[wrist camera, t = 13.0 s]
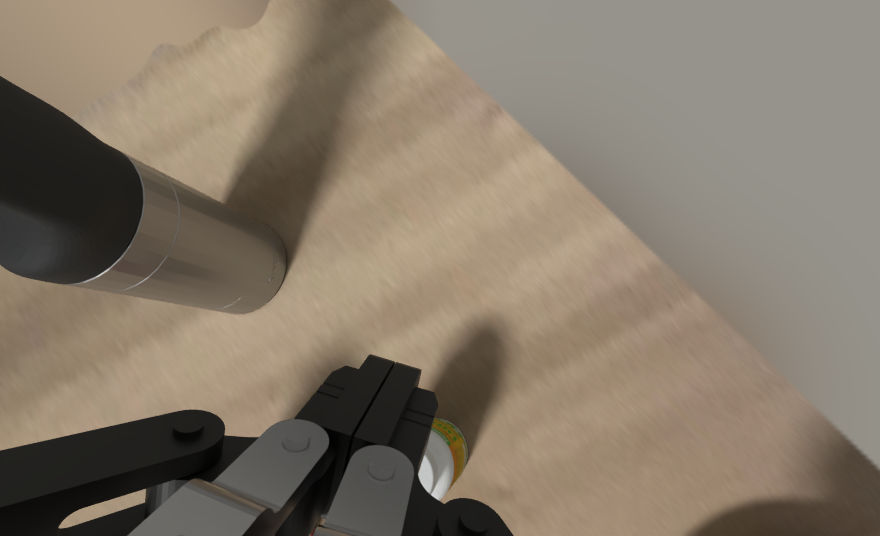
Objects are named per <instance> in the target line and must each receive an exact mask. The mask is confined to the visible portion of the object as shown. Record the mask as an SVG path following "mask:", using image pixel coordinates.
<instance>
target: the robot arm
mask: <svg viewBox="0 0 880 536" xmlns="http://www.w3.org/2000/svg"><path fill="white" fill-rule="evenodd" d="M0 265H1V266H2V267H4V268H5V269H7V270H8V271H10V272H12V273H14V274H17V275H19V276H22V277H26V278H30V279H35V280H40V281H45V282H51V283H57V284H63V285H69V286H75V287H80V288H86V289H92V290H98V291H105V292H111V293H116V294H122V295H128V296H134V297H139V298H145V299H151V300H157V301H163V302H168V303H174V304H180V305H186V306H191V307H197V308H202V309H208V310H213V311H219V312H225V313H231V314H245V313H249V312H253V311H255V310H257V309H259V308H261V307H262V306H263V305H265V304H266V303H267V302H269V301H270V299H271V298H272V297H273V296H274V295H275V294H276V292H277V291H278V289H279V287H280V286H281V283H282V281H283V278H284V275H285V269H286V254H285V249H284V246H283V244H282V242H281V240H280V238H279V237H278V235H277V234H276V233H275V232H274V231H273V230H272V229H270V228H269V227H268V226H266V225H264V224H262V223H260V222H258V221H256V220H254V219H252V218H250V217H248V216H246V215H245V214H243V213H241V212H239V211H237V210H235V209H233V208H231V207H229V206H227V205H225V204H223V203H221V202H219V201H217V200H215V199H213V198H211V197H209V196H207V195H206V194H204V193H202V192H200V191H198V190H196V189H194V188H192V187H190V186H188V185H186V184H184V183H182V182H180V181H178V180H176V179H174V178H172V177H170V176H168V175H166V174H164V173H162V172H160V171H158V170H156V169H154V168H152V167H150V166H148V165H146V164H144V163H142V162H140V161H138V160H136V159H134V158H132V157H130V156H128V155H126V154H125V153H123V152H121V151H119V150H117V149H115V148H113V147H111V146H109V145H107V144H105V143H103V142H102V141H100V140H99V139H98V138H96V137H95V136H94V135H92V134H91V133H90V132H89V131H87V130H86V129H85V128H83V127H82V126H81V125H79V124H78V123H77V122H75V121H74V120H73V119H71V118H70V117H68V116H67V115H65V114H64V113H63V112H61V111H59V110H58V109H56V108H54V107H53V106H51V105H49V104H48V103H46V102H44V101H43V100H41V99H39V98H37V97H36V96H34V95H32V94H30V93H28V92H26V91H25V90H23V89H21V88H20V87H18V86H16V85H14V84H12V83H11V82H9V81H8V80H6V79H4V78H3V77H1V76H0ZM420 376H421V369H418V368H414V367H411V366H408V365H404V364H401V363H398V362H396V364H395V362H394V361H391V360H388V359H384V358H381V357H378V356H374V355H371V354H370V355H369V356H368V357H367V359H366V360H365V361H364V363H363V364H362V366H361V367H360V368H359V369H356V368H353V367H349V366H344V367H342V368H340V369H338V370H336V371H334V372H332V373H331V374H330V375H329V377H328V378H327V379H326V380H325V382H324V384H322V385H321V386H320V388H319V389H318V390H317V392H316V393H315V394H314V395H313V396H312V397H311V399H310V400H309V401H308V402H307V404H306V405H305V406H304V407H303V408H302V410H301V411H300V412H299V413H298V415H297V416H296V417H295V418H294V419H291V420H284V421H281V422H278V423H276V424H274V425H272V426H271V427H270V428H268V429H267V430H266V431H265V432H264V433H263V434H262V435H261V436H260V437H237V436H225V435H224V433H225V425H224V423H223V421H222V420H221V419H220V418H219V417H218V416H217V415H215V414H213V413H210V412H207V411H203V410H183V411H177V412H173V413H168V414H164V415H159V416H155V417H150V418H146V419H141V420H137V421H132V422H128V423H123V424H119V425H114V426H110V427H105V428H101V429H96V430H91V431H87V432H82V433H78V434H73V435H69V436H64V437H60V438H55V439H51V440H46V441H42V442H37V443H33V444H28V445H24V446H19V447H15V448H10V449H6V450H1V451H0V536H311V533H312V531H313V530H314V528H315V526H316V524H317V523H318V521H319V519H320V517H322V518H325V522H324V524H323V526H322V525H318V527H317V528H316V530H315V532H314V535H313V536H513V534H512V533H511V531H510V530H509V529H508V527H507V526H506V524H505V523H504V522H503V520H502V519H501V518H500V516H499V515H498V514H497V513H496V512H495V511H494V510H493V509H492V508H490V507H489V506H487V505H485V504H484V503H482V502H479V501H477V500H473V499H468V498H458V499H453V500H450V501H449V502H447V503H445V504H443V503H442V502H440V501H439V500H437V499H436V498H434V497H433V496H432V495H431V494H429V493H428V492H427V491H426V489H425V488H424V487H423V485H422V484H421V482H420V479H419V476H418V473H419V470H420V467H421V464H422V461H423V457H424V454H425V451H426V447H427V444H428V440H429V436H430V433H431V429H432V425H433V422H434V418H435V414H436V411H437V407H438V403H437V400H436V397H435V394H434V392H431V391H428V390H424V389H421V388H418V384H419V380H420ZM143 489H146V499H145V503H142V504H139V505H136V506H133V507H130V508H127V509H124V510H121V511H118V512H115V513H112V514H109V515H106V516H103V517H99V518H96V519H93V520H90V521H87V522H84V523H81V524H78V525H75V526H72V527H68V528H61V529H60V528H58V527H59V525H60V524H61V522H62V521H63V520H64V519H65V518H66V517H67V516H69V515H70V514H72V513H73V512H75V511H77V510H79V509H82V508H85V507H88V506H91V505H94V504H98V503H101V502H104V501H107V500H110V499H114V498H117V497H120V496H123V495H127V494H130V493H133V492H136V491H140V490H143Z"/></svg>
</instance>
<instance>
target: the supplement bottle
mask: <svg viewBox="0 0 880 536" xmlns="http://www.w3.org/2000/svg"><path fill="white" fill-rule="evenodd" d="M467 456H468V451H467V445H466V441H465V439H464V436H463V435H462V433H461V432H460V430H459V429H458V428H457V427H456V426H455V425H453V424H452V423H451V422H449V421H447V420H444V419H440V418H434V422H433V425H432V429H431V433H430V436H429V440H428V444H427V447H426V451H425V454H424V457H423V461H422V464H421V467H420V470H419V473H418V476H419V479H420V482H421V484H422V485H423V487H424V488H425V489H426V491H427V492H428V493H429V494H431V495H432V496H433V497H434V498H436V499H437V500H440V499H441V498H442V497H443V496H444V495H445V494H446V493H447V492H448V490H449V489H450V488H451V486H452V485H453V484H454V483H455V481H456V480H457V479H458V478H459V477H460V475H461V474H462V472H463V470H464V468H465V466H466V462H467Z"/></svg>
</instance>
